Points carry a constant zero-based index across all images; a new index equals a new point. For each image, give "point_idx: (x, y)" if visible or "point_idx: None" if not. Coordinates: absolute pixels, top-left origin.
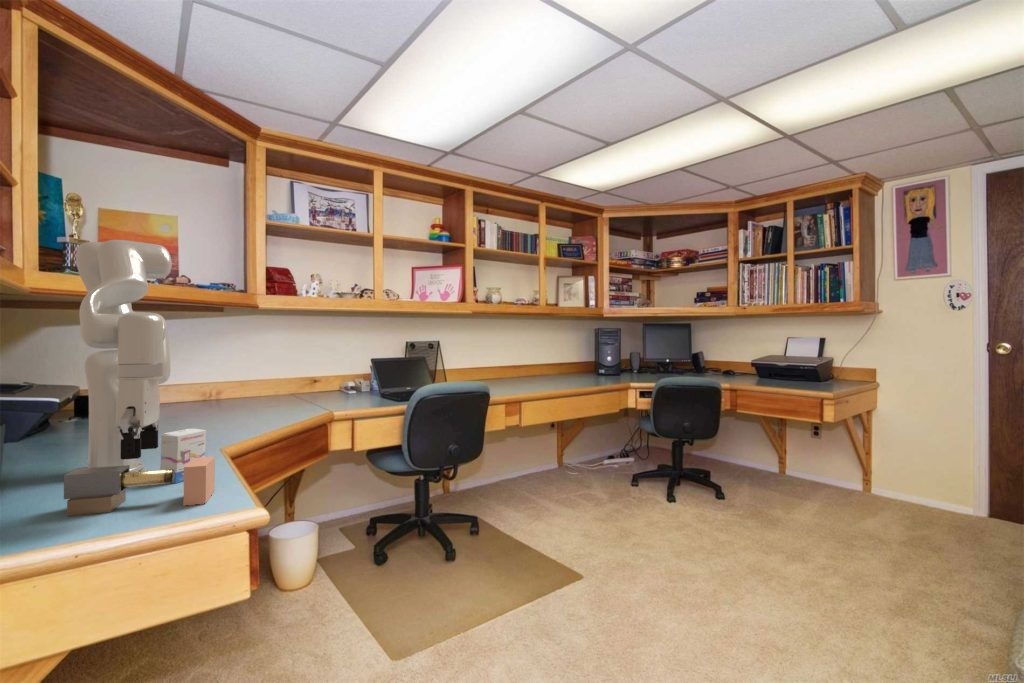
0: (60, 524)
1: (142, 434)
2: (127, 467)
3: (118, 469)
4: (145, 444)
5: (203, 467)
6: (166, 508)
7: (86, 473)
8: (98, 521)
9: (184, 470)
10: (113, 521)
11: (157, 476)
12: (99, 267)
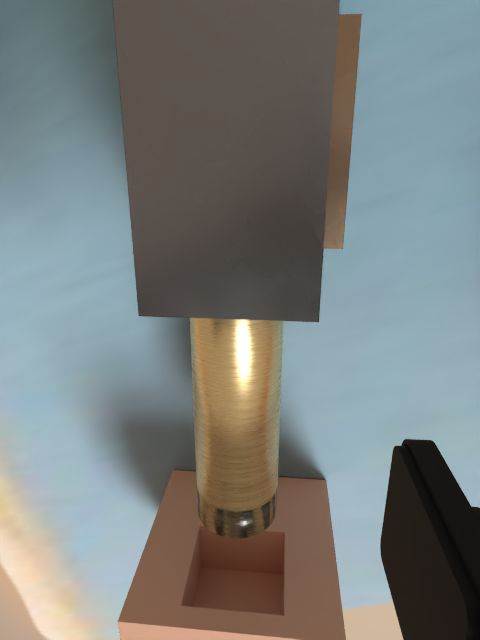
0: (51, 72)
1: (447, 598)
2: (279, 317)
3: (197, 289)
4: (402, 511)
5: None
6: (162, 422)
7: (129, 86)
8: (61, 225)
9: (124, 606)
10: (51, 282)
11: (196, 461)
12: None
